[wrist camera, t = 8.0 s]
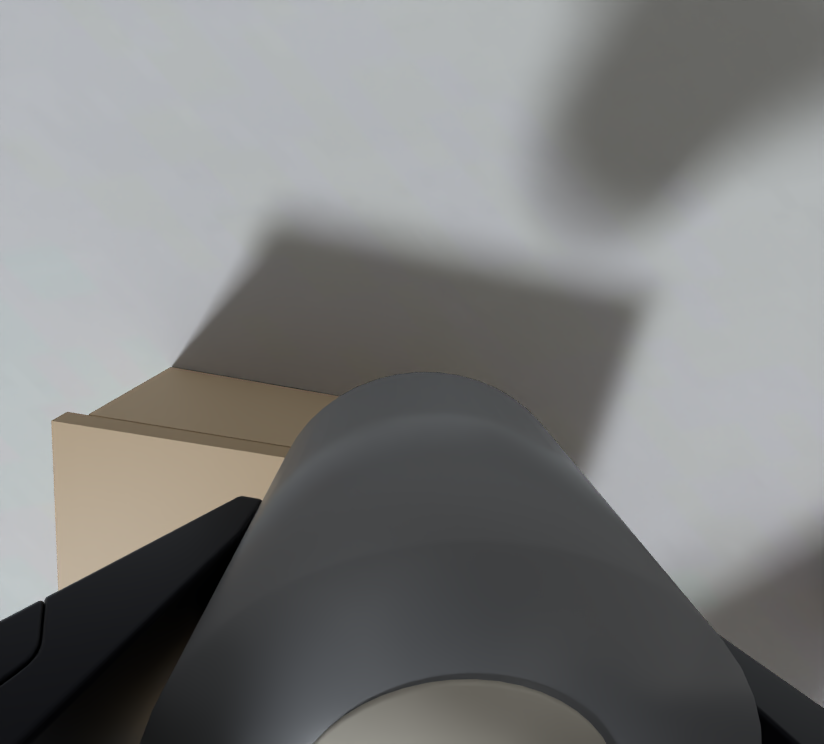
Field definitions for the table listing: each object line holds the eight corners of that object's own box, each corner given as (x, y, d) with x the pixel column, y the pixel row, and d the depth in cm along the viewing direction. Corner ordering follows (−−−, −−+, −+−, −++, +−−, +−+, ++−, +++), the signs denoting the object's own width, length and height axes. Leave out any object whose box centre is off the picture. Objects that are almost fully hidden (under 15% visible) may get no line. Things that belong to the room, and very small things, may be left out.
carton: (508, 425, 19) (548, 488, 14) (438, 673, 23) (450, 788, 18) (170, 366, 18) (89, 414, 13) (155, 641, 21) (87, 757, 17)
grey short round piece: (607, 405, 9) (884, 609, 4) (521, 648, 10) (639, 1016, 5) (299, 342, 8) (153, 485, 3) (257, 608, 10) (114, 982, 5)
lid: (563, 491, 14) (571, 503, 13) (458, 792, 18) (460, 811, 17) (67, 412, 12) (51, 420, 12) (77, 759, 16) (66, 778, 16)
